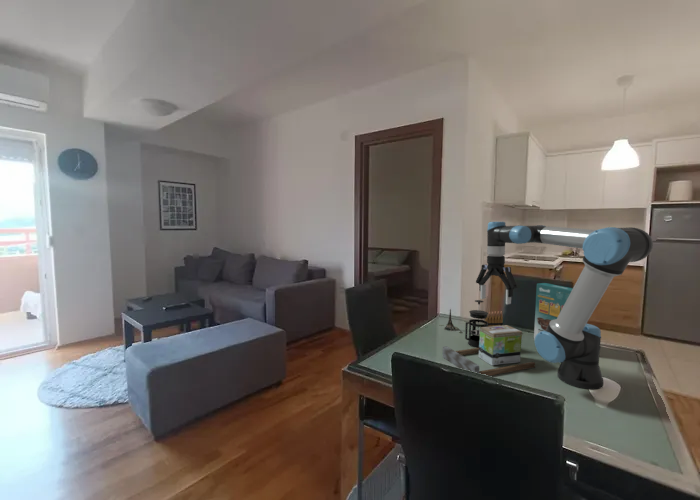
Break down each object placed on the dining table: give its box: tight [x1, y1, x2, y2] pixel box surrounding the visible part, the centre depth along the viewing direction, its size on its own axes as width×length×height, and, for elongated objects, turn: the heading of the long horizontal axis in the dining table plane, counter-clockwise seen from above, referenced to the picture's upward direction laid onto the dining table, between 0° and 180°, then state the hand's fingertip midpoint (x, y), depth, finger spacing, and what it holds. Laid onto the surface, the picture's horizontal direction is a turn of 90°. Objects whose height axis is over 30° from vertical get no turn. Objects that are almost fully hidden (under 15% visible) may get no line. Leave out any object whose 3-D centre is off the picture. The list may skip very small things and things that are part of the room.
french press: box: [464, 299, 489, 348], centre depth 173 cm, size 12×9×23 cm
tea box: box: [478, 324, 523, 367], centre depth 155 cm, size 15×10×15 cm
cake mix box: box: [533, 282, 573, 340], centre depth 172 cm, size 22×6×30 cm, turn 22°
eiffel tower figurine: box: [439, 307, 464, 334], centre depth 198 cm, size 15×10×13 cm
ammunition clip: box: [483, 310, 504, 327], centre depth 194 cm, size 11×2×12 cm, turn 96°
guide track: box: [442, 346, 536, 377], centre depth 153 cm, size 22×32×5 cm
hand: (495, 301), depth 157 cm, fingers open, 13 cm apart
